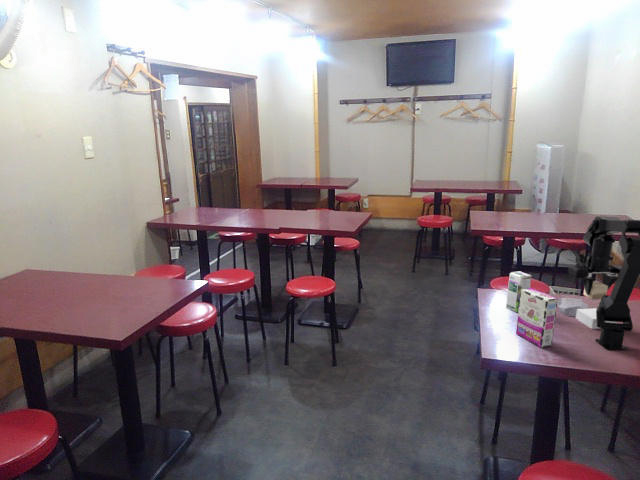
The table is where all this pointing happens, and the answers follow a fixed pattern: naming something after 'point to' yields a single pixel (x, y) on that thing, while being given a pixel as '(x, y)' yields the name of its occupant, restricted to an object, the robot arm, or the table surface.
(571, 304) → the stone block
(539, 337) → the candy bar box
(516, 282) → the syrup box
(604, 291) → the birch cube
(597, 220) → the robot arm
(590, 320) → the base block
